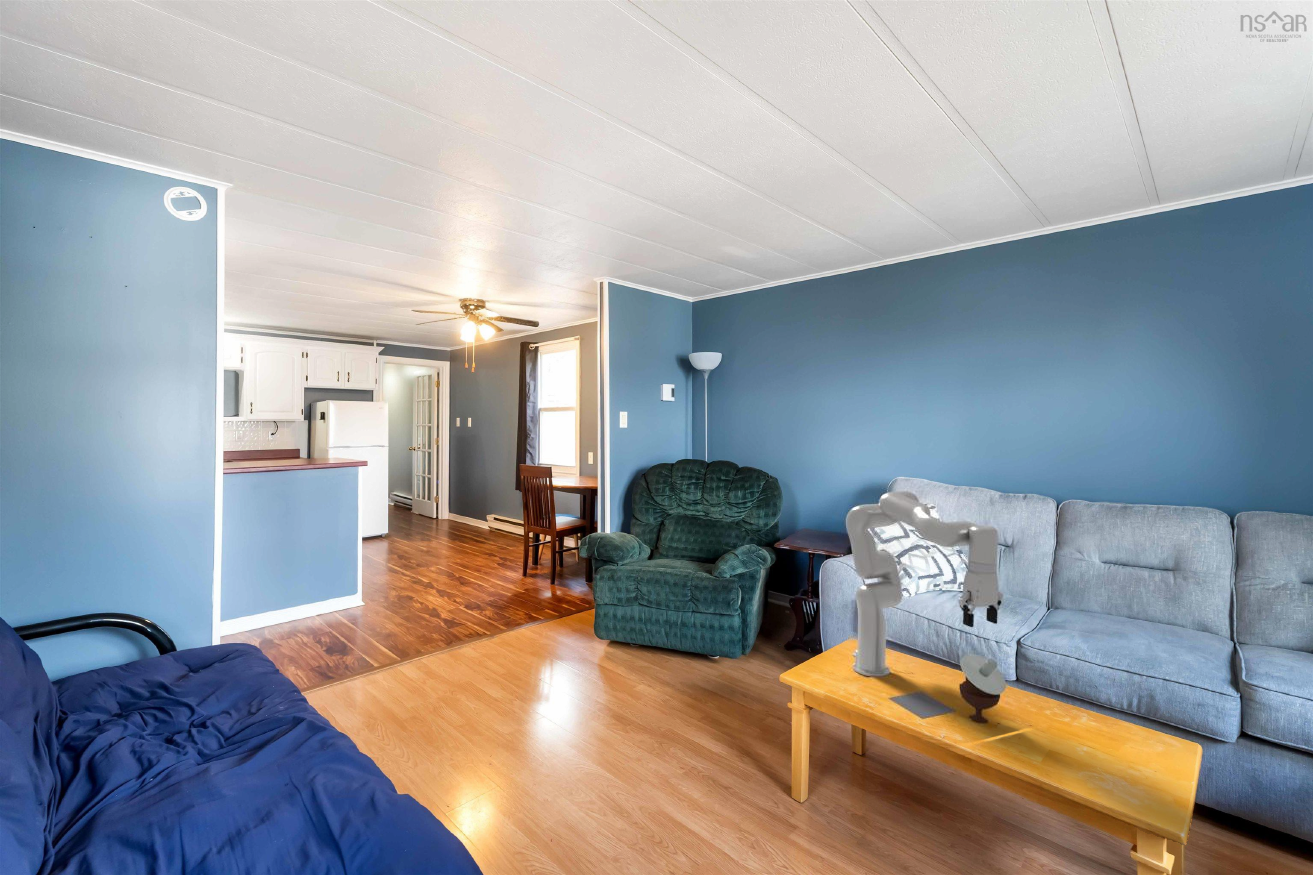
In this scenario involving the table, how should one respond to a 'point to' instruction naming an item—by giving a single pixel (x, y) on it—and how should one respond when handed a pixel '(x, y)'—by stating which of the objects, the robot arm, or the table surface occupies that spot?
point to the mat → (922, 705)
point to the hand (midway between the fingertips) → (980, 623)
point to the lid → (983, 673)
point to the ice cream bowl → (977, 700)
